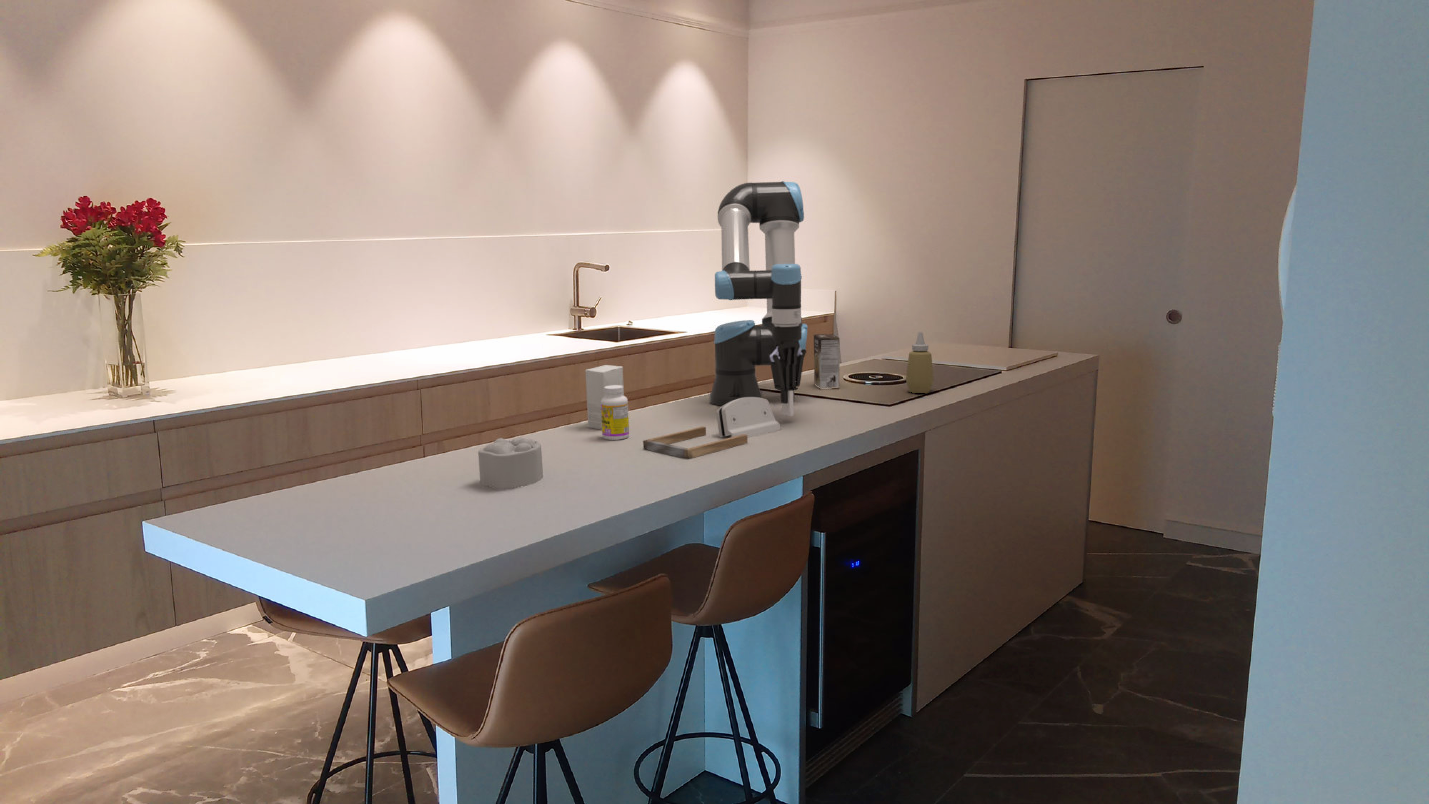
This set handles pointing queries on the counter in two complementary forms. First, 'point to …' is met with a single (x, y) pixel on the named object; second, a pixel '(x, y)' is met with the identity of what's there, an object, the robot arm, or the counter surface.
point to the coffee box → (826, 360)
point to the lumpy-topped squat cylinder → (510, 463)
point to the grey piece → (746, 417)
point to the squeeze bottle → (919, 367)
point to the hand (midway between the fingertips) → (787, 414)
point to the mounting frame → (663, 446)
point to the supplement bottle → (614, 413)
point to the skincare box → (600, 390)
